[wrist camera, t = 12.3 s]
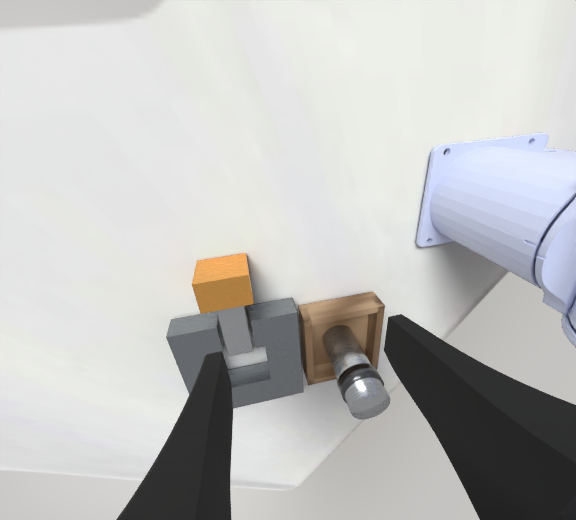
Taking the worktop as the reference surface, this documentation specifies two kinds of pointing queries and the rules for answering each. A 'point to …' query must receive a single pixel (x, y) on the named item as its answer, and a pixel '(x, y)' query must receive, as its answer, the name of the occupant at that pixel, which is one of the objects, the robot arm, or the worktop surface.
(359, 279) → the worktop surface
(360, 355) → the silver metal canister
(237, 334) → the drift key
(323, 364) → the square wooden tray
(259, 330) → the socket
